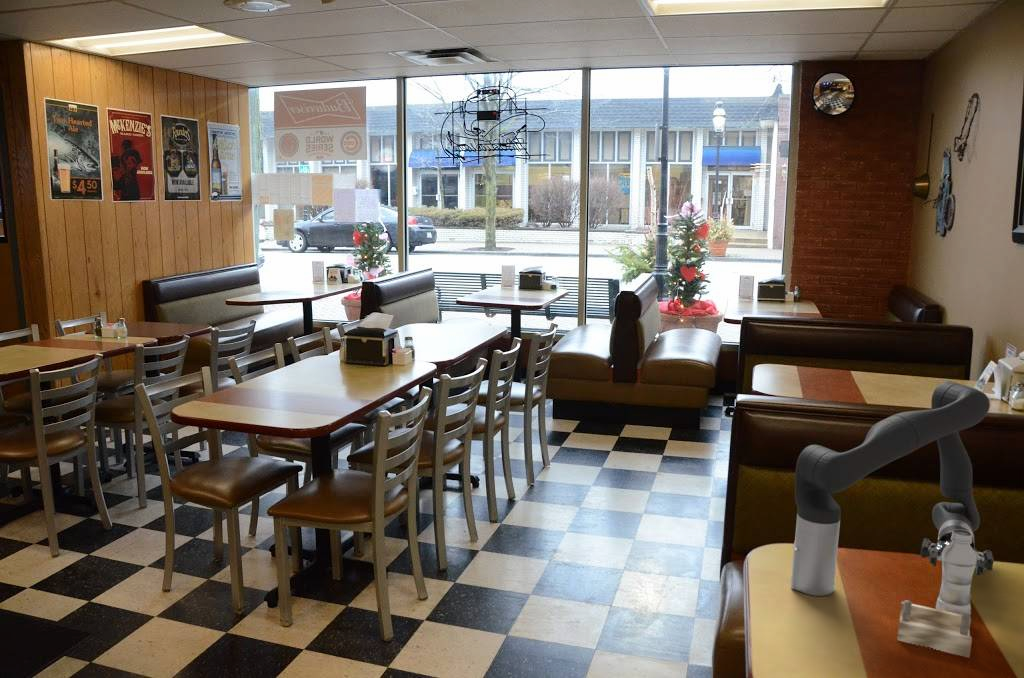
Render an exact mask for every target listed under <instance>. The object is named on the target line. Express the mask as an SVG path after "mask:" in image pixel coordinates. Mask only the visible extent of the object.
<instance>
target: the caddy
mask: <svg viewBox="0 0 1024 678" xmlns="http://www.w3.org/2000/svg"><path fill="white" fill-rule="evenodd" d="M898 620H899V621H898V627H897V628H898V629H897V637H896V640H897V641H898V642H902V643H907V644H910V643H911V644H912V645H914V644H915V645H916V646H919V645H920V646H919V647H923V646H925V647H924V648H927V647H930V648H929V649H931V648H933V649H932V650H935V649H936V651H939V650H940V652H944V653H948V654H952V655H955V656H961V657H963V658H968V659H969V658H970V656H971V649H972V641H973V637H972V636H971V635H970V634H971V632H970V631H971V623H972V622H971V621H972V616H971V615H969V614H967V613H962V615H961V614H956V613H952V612H947V611H943V610H938V609H936V608H933V607H929V606H924V605H920V604H915V603H913V601H911V600H909V599H904V600H903V601H901V605H900V613H899V619H898ZM911 644H910V645H911Z"/></svg>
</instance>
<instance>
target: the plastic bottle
mask: <svg viewBox="0 0 1024 678" xmlns="http://www.w3.org/2000/svg"><path fill="white" fill-rule="evenodd" d="M951 540H952V542H950V543H949V544H948V545H947V546H946V547H945V548H944V549H943V551H942V561H941V569H942V570H941V571H942V573H941V585H940V589H939V595H938V596H937V599H936V603H935V609H938V610H943V611H947V612H952V613H956V614H961V615H962V613H967V614H969V615H970V616H971V615H972V607H971V605H972V604H971V586H972V582H973V581H972V579H973V575H974V573H975V570H976V568H975V566H976V561H977V558H976V554H975V552H974V550H973V549H972V547H971V546H970V544H971V543H972V533H970V532H968V531H965V530H960V529H955V530H953V531H952V536H951Z"/></svg>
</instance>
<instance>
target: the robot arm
mask: <svg viewBox="0 0 1024 678" xmlns="http://www.w3.org/2000/svg"><path fill="white" fill-rule="evenodd" d="M930 405H931V409H924V410H923V409H922V410H919V409H918V410H910V411H909V410H908V411H903V412H898V413H895V414H893V415H891V416H888V417H887V418H884V419H882V420H879V421H878V422H876V423H875V424H874V425H872V426H871V428H870V429H869V430H868V432H867V434H866V436H865V438H864V441H863V442H862V444H860V445H858V446H856V447H854V448H852V449H850V450H847V451H844V452H837V451H836V450H833V449H830V448H828V447H825V446H822V445H820V444H810V445H808V446H806V447H805V448H804V449H802V451H801V453H799V456H798V458H797V461H796V465H795V481H794V482H795V484H794V498H795V499H794V501H795V505H796V507H797V512H796V525H795V535H794V538H795V539H794V542H793V552H792V561H791V562H792V563H791V564H792V566H791V576H790V581H791V582H790V583H791V584H790V585H791V587H790V589H792V590H796V591H799V592H801V593H803V594H806V595H811V596H818V597H820V596H823V597H824V596H829V595H831V594H833V593H834V588H835V579H836V578H835V577H836V571H837V568H836V567H837V557H838V548H839V547H838V546H839V536H840V527H841V526H840V525H841V515H842V514H841V513H842V510H841V506H840V505H839V504H838V503H837V501H836V500H835V499H834V498H833V496H832V495H831V494H837V493H840V492H843V491H844V490H847V489H848V488H850V487H851V486H853V485H854V484H856V483H857V482H859V481H861V480H862V479H863V478H865V477H866V476H868V475H869V474H871V473H873V472H875V471H876V470H878V469H880V468H882V467H885V466H886V465H888V464H890V463H892V462H894V461H895V460H898V459H900V458H903V457H904V456H907V455H909V454H912V453H913V452H915V451H917V450H919V449H921V448H922V447H924V446H926V445H928V444H931V443H933V442H935V441H936V442H937V446H938V451H939V459H940V461H939V463H940V474H939V475H940V483H939V484H940V487H939V488H940V493H941V495H942V496H943V497H945V498H946V499H949V500H951V501H954V502H950V501H949V502H948V501H941V502H938V503H936V504H935V505H934V506H933V508H932V513H931V516H932V517H931V518H932V522H933V524H934V526H935V528H936V529H937V530H938V536H937V542H936V543H934V542H932V541H930V538H926V537H925V538H923V540H922V544H921V549H920V557H921V558H923V559H924V558H929V564H932V566H933V567H937V561H941V562H942V551H943V549H944V548H945V547H946V546H947V545H948V544H949V543H950V542H952V540H951V536H952V531H953V530H955V529H960V530H965V531H968V532H970V533H972V543H971V544H970V546H971V547H972V549H973V550H974V552H975V554H976V558H977V561H976V566H975V570H976V571H975V573H976V576H981V575H983V574H985V569H986V571H991V572H992V571H993V570H994V569H993V566H994V562H995V559H994V556H993V552H992V551H991V550H989V549H985V550H984V551H983V552H981V551H979V550H977V549H976V546H975V545H976V544H975V535H974V533H973V532H975V531H977V530H978V528H979V527H980V524H981V518H980V514H979V511H978V508H977V505H976V502H975V499H974V495H973V493H974V492H973V465H972V461H971V458H970V457H969V455H968V452H967V450H966V448H965V446H964V444H963V441H962V439H961V437H960V435H959V432H960V431H963V430H965V429H966V430H967V429H969V428H971V427H974V426H976V425H977V424H979V423H981V421H983V420H984V419H985V417H986V416H987V414H988V412H989V410H990V408H991V407H990V406H991V402H990V399H989V397H988V395H987V394H986V393H984V392H983V391H982V390H979V389H977V388H975V387H972V386H968V385H965V384H961V383H958V382H955V381H947V380H946V381H944V382H941V383H939V384H938V385H937V386H936V387H935V389H934V390H933V392H932V395H931V403H930Z"/></svg>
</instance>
